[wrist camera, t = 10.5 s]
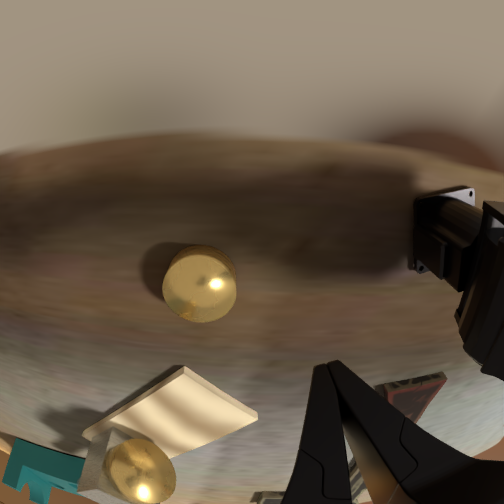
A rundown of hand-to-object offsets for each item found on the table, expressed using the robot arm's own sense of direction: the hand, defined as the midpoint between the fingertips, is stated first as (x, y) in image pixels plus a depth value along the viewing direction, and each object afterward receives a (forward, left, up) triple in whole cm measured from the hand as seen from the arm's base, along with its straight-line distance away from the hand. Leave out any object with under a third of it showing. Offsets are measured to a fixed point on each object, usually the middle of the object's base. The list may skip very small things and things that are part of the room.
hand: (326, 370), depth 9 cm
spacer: (+6, +2, -13) cm, 15 cm away
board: (+18, +20, -13) cm, 30 cm away
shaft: (+26, +24, -11) cm, 37 cm away
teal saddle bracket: (+44, +33, -13) cm, 57 cm away
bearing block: (+23, +23, -12) cm, 35 cm away
